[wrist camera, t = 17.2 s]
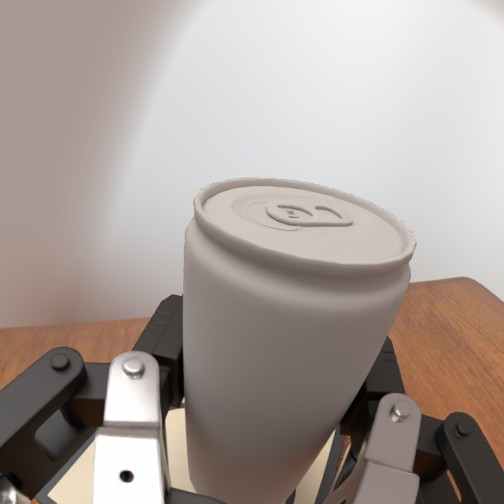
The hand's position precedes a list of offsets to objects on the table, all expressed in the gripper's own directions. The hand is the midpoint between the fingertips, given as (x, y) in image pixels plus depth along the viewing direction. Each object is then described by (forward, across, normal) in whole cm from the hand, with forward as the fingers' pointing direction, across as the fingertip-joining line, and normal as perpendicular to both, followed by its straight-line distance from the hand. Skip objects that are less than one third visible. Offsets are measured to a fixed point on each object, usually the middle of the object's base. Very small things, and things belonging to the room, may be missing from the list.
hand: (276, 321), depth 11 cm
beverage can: (-3, 0, +7) cm, 8 cm away
